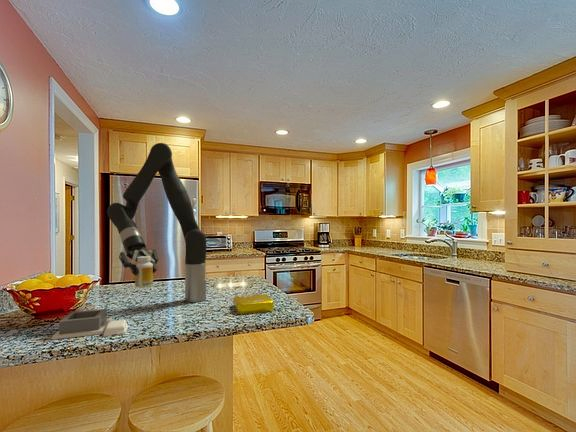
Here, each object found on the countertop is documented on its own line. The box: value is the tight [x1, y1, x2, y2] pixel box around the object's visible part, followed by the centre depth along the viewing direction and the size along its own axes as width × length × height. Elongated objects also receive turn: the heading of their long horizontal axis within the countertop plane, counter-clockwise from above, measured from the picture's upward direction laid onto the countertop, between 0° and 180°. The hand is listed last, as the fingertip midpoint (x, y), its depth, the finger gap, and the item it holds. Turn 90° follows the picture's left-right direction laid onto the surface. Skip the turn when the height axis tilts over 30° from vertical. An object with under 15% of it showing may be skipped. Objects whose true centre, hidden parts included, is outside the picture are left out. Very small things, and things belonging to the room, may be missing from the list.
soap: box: [103, 319, 129, 337], centre depth 102 cm, size 9×7×3 cm
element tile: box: [233, 293, 275, 315], centre depth 128 cm, size 15×15×5 cm
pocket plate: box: [51, 308, 113, 340], centre depth 103 cm, size 14×14×5 cm
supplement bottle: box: [134, 255, 154, 289], centre depth 116 cm, size 6×6×11 cm
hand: (146, 272), depth 115 cm, fingers closed on supplement bottle, 6 cm apart
